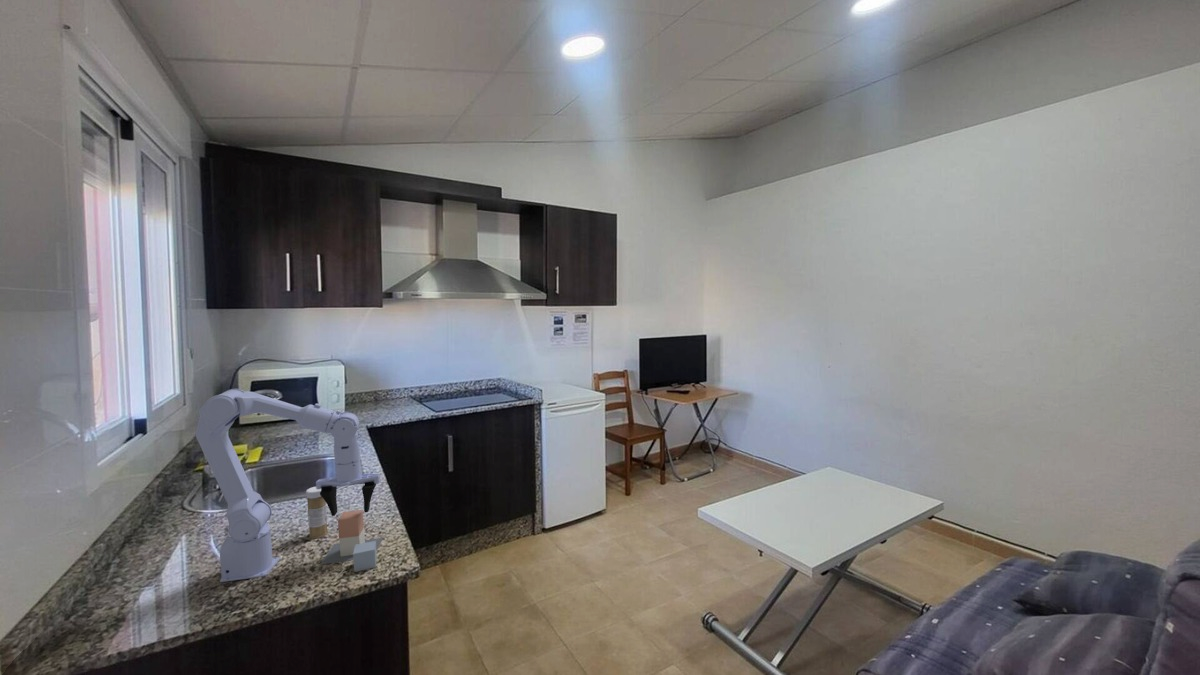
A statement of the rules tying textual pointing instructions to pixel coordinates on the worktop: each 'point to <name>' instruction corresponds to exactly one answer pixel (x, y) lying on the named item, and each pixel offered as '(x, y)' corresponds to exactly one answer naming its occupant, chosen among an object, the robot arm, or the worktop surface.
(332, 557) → the mat
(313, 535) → the sprinkles bottle
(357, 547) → the slate brick
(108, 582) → the worktop surface
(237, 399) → the robot arm
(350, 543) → the cream brick
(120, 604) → the worktop surface
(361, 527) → the terracotta brick
